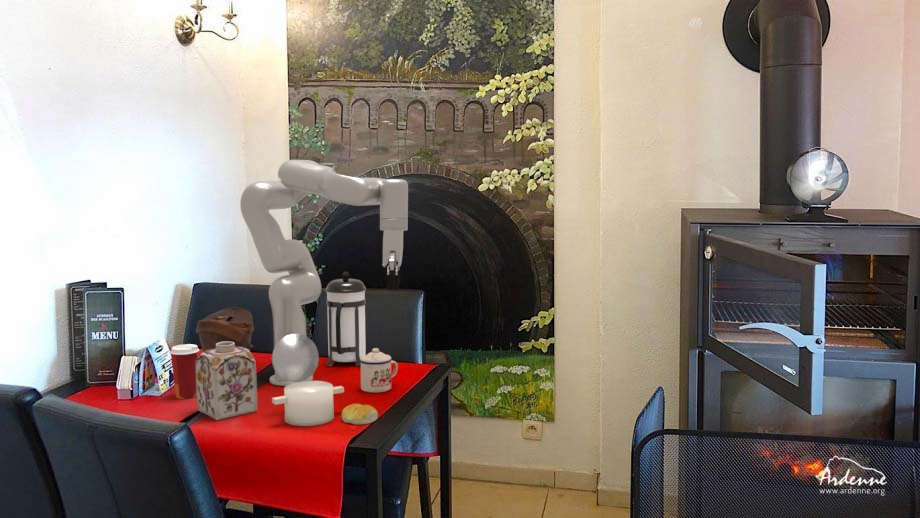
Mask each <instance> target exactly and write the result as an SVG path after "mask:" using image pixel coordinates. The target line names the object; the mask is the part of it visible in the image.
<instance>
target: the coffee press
mask: <svg viewBox="0 0 920 518" xmlns="http://www.w3.org/2000/svg"><path fill="white" fill-rule="evenodd" d="M341 276H342V278H337V279H333V280H331V281H330V282H329V283H328V284H327V285H326V288H325V292H326V294H327V295H326V306H327V307H326V308H327V311H326V312H327V339H328V340H327V342H328V343H327V344H328V345H327V347H328V360H327V361H326V366H328V367H330V368H331V367H333V365H334V364H335V363H353V364H354V365H355V367H356V368H358V367H360V368H361V362H360V358H361V357H362V356H364V355H367V353H366V352H367V351H366V303H367V302H366V298H365V295H366V293H365V292H366V290H367V288H366V286H365V284H364V282H363V281H361V280H360V279H357V278H356V279H355V278H349V277H350V273H349V272H348V271H343V272H342V274H341Z"/></svg>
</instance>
